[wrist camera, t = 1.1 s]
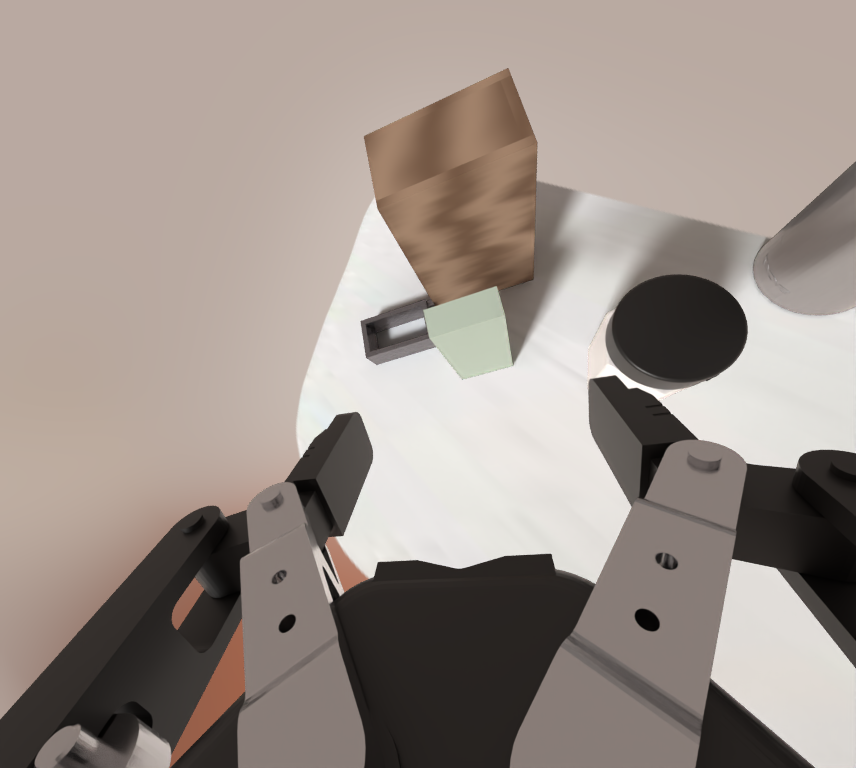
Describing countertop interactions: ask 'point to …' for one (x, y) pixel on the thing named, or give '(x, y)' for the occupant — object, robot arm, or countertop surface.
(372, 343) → the dark grey rectangular frame
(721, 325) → the jar
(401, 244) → the cabinet
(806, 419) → the countertop surface
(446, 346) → the sage green block
